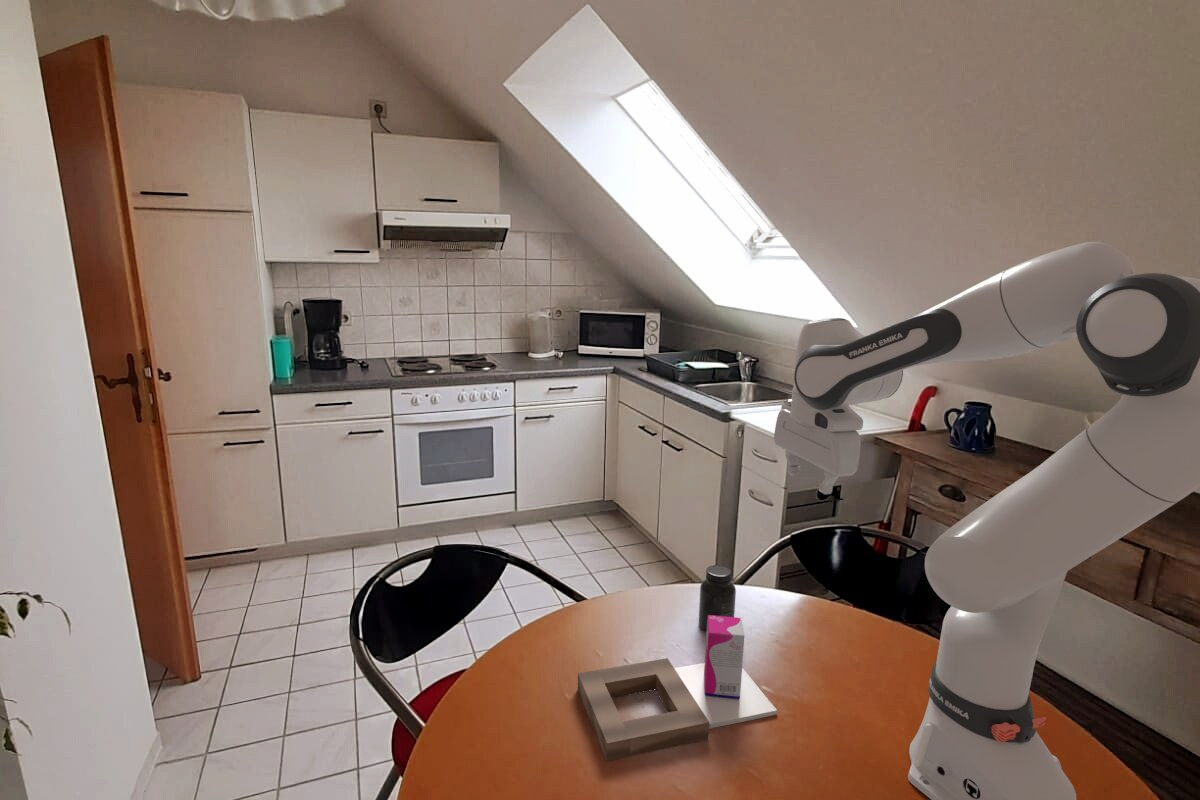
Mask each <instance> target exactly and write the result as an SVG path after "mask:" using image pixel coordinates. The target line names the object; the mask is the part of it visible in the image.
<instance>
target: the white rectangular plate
mask: <svg viewBox="0 0 1200 800" xmlns="http://www.w3.org/2000/svg"><path fill="white" fill-rule="evenodd" d="M704 666H705V662H702V663H697V664H696V663H695V664H690V665H685V666H680V667H674V669H675V670H676V672H677V673H678V675H679V676H680V678H681V680H682V681H683V683H684V684H685V686H686V687H687V689H688V690H689V692H690V693H691V695H692V696H693V698H694V699H695V701H696V702H697V704H698V706H699V707H700V709H701V710H702V712H703V713H704V715H705V716H706V718H707V719H708V721H709V730H710V729H714V728H719V727H724V726H729V725H733V724H738V723H743V722H747V721H753V720H757V719H761V718H763V719H764V718H766V717H767V718H768V717H772V716H776V715H777V714H778V709H777V708H776V706H774V704H773V703H772V702H771V701H770V699H768V697H767V696H766V695H765V693H763V691H762V690H761V689H760V688H759V686H758V685H757V684H756V682H754V680H753V679H752V678H751V676H750V675H749V674H748V672H746V670H745V669H744V668H743V667H742V678H741V691H740V699H731V698H723V697H713V696H705V691H704Z"/></svg>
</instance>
